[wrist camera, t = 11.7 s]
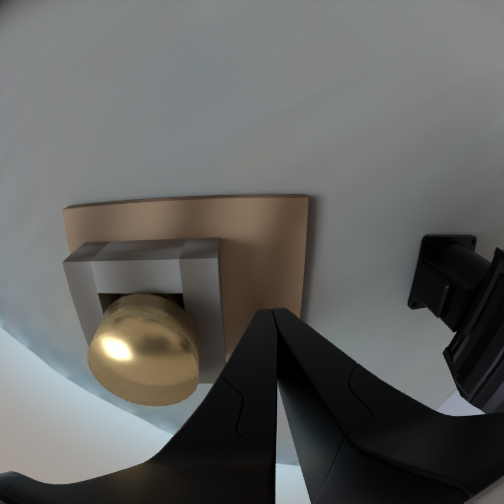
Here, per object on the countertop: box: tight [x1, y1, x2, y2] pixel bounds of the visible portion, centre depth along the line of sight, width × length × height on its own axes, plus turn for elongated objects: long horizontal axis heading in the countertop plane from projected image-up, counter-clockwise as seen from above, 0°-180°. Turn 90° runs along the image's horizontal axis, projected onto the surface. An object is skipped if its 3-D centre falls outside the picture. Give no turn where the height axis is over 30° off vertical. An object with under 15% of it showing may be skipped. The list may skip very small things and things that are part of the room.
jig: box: [62, 194, 308, 383], centre depth 19 cm, size 16×14×4 cm
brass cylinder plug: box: [87, 293, 200, 406], centre depth 16 cm, size 6×6×6 cm
